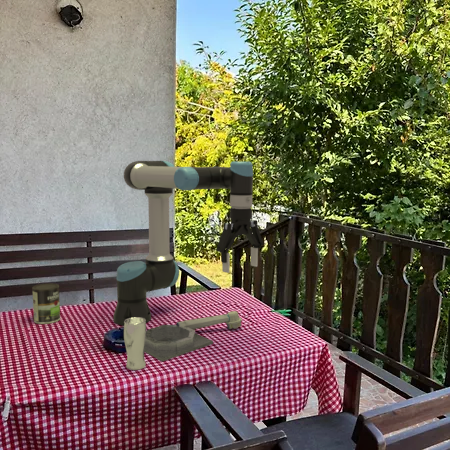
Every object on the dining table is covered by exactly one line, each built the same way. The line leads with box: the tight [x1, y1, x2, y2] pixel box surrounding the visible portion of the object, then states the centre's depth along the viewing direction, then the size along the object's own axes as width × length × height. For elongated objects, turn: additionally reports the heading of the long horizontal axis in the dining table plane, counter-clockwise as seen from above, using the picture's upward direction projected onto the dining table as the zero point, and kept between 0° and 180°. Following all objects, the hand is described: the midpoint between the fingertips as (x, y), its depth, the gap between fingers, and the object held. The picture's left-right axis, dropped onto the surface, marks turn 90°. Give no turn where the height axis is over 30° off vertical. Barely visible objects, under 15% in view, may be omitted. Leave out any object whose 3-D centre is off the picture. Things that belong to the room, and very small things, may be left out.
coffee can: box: [31, 282, 61, 325], centre depth 185 cm, size 10×10×14 cm
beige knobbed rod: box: [176, 310, 243, 331], centre depth 174 cm, size 5×7×25 cm
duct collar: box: [144, 324, 214, 362], centre depth 163 cm, size 22×22×3 cm
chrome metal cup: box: [123, 317, 147, 371], centre depth 143 cm, size 7×7×15 cm
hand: (240, 269), depth 156 cm, fingers open, 13 cm apart
